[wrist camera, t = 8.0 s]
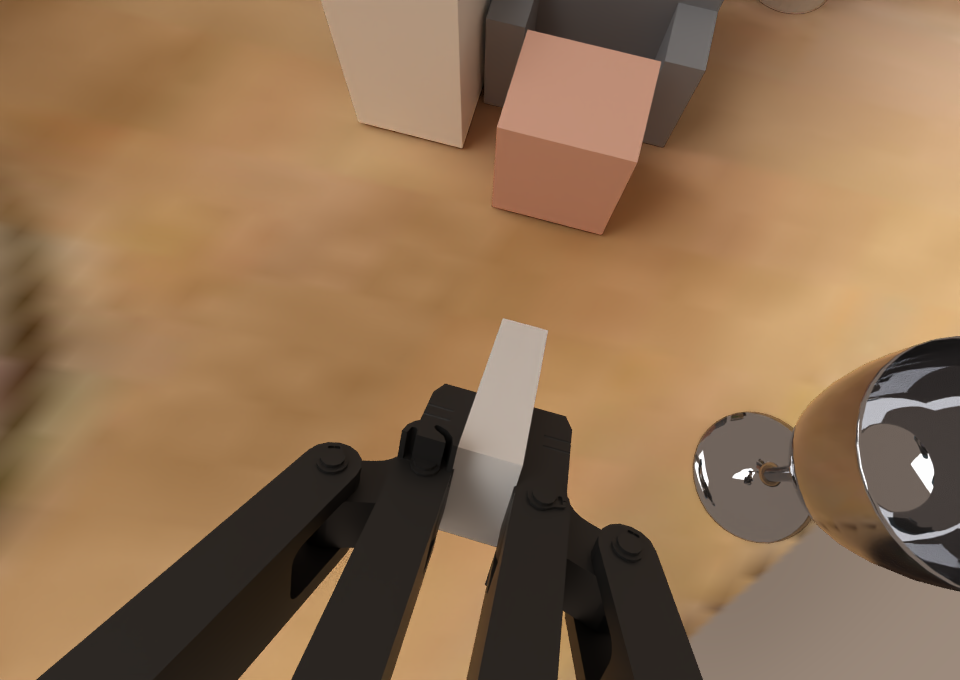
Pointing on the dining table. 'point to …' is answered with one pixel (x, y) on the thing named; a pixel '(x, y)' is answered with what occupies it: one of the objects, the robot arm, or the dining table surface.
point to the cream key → (412, 63)
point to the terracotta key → (571, 130)
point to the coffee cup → (793, 5)
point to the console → (611, 44)
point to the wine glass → (852, 466)
